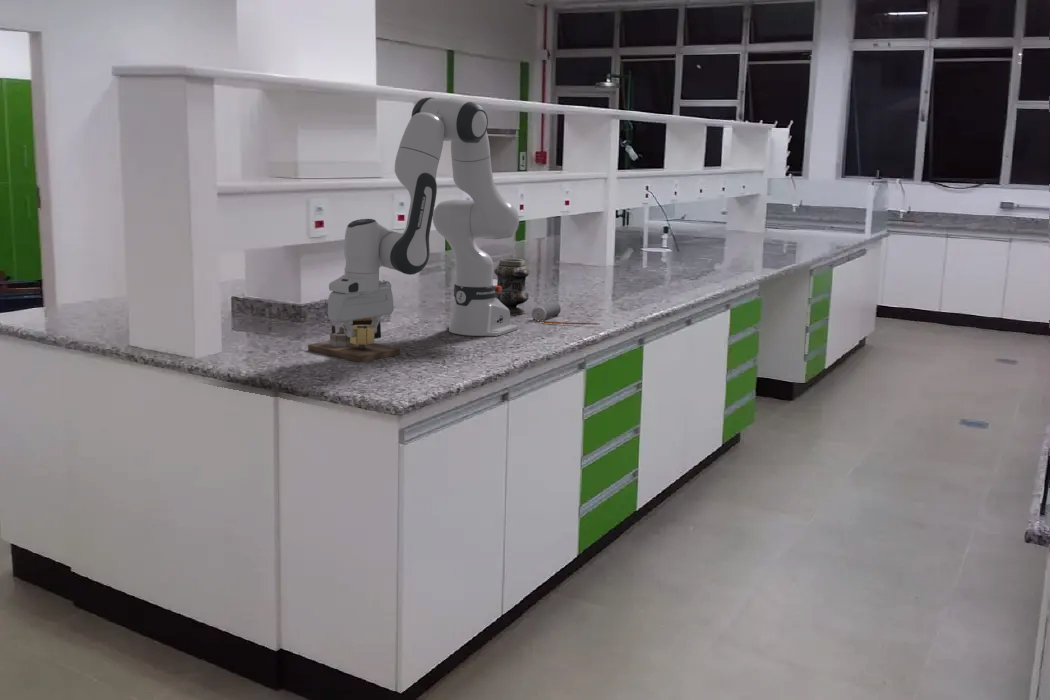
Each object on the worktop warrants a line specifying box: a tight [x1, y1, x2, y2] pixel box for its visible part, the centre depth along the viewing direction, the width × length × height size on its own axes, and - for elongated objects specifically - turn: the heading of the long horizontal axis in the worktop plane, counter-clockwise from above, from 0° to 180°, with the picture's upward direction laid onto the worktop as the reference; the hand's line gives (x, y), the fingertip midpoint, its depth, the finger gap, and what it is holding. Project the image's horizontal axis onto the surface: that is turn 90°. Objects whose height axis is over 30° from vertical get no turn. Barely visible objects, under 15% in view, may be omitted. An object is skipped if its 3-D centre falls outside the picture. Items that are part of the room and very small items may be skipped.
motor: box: [531, 301, 599, 326], centre depth 307 cm, size 23×22×5 cm
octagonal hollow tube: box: [350, 325, 375, 345], centre depth 246 cm, size 6×6×4 cm
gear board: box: [307, 325, 401, 363], centre depth 248 cm, size 14×20×7 cm
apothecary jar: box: [493, 257, 530, 315], centre depth 316 cm, size 12×12×18 cm
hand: (361, 335), depth 246 cm, fingers closed on octagonal hollow tube, 6 cm apart
